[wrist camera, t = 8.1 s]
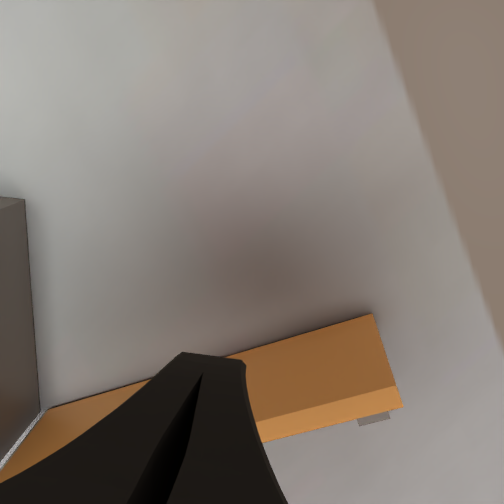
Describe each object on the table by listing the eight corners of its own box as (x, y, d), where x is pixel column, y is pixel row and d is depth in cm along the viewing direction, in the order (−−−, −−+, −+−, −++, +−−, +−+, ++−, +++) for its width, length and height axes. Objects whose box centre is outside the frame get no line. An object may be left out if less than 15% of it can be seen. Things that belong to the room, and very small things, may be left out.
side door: (55, 436, 22) (-7, 525, 18) (40, 412, 22) (-27, 496, 17) (382, 343, 19) (408, 423, 15) (372, 313, 19) (395, 385, 14)
